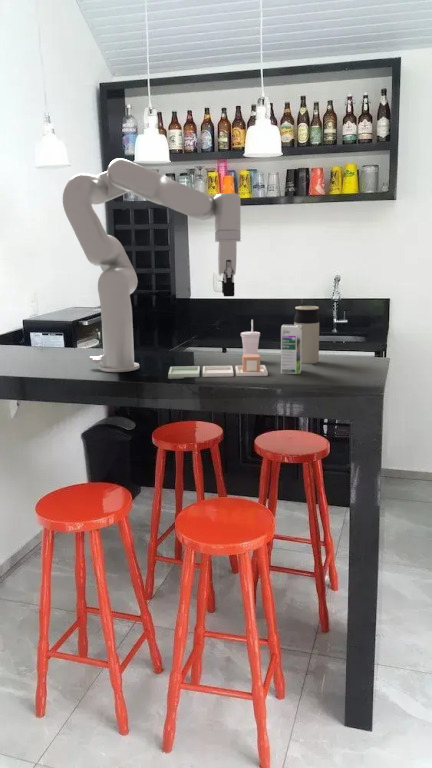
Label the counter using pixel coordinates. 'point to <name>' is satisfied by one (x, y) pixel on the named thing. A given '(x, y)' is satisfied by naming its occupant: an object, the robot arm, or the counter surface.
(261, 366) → the tray
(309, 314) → the travel mug
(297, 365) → the syrup box
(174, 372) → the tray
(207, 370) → the tray
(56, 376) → the counter surface
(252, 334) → the smoothie
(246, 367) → the light orange cube
